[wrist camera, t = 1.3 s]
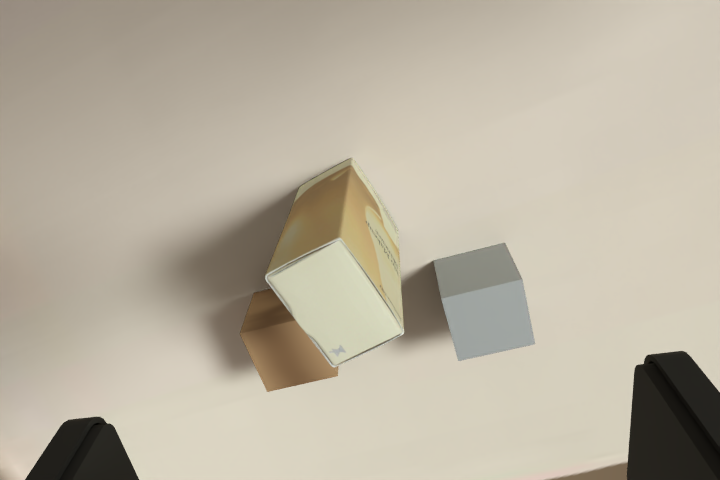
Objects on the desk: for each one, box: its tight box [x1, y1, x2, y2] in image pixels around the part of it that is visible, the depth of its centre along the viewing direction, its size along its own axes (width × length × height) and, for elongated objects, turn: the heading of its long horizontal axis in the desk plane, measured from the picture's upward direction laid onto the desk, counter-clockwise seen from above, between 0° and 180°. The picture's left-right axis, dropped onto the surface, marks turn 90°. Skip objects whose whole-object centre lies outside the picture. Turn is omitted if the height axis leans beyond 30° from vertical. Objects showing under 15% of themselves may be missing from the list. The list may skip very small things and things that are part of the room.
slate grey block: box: [433, 243, 535, 361], centre depth 37 cm, size 5×5×5 cm
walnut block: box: [240, 289, 338, 392], centre depth 39 cm, size 5×5×5 cm
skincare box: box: [265, 158, 404, 367], centre depth 32 cm, size 6×4×12 cm
